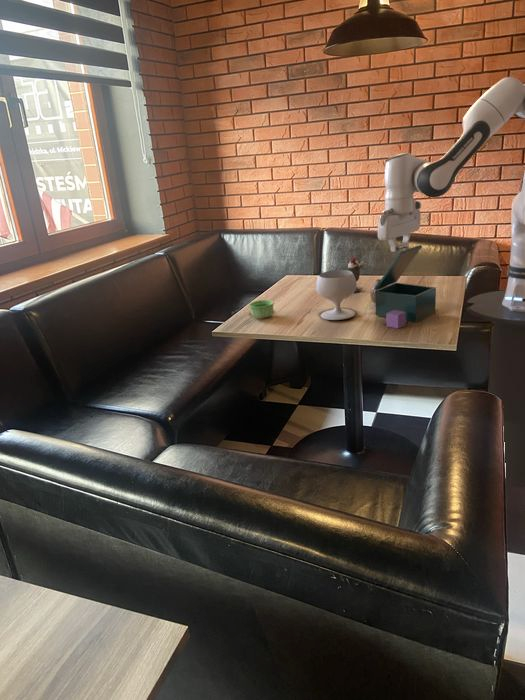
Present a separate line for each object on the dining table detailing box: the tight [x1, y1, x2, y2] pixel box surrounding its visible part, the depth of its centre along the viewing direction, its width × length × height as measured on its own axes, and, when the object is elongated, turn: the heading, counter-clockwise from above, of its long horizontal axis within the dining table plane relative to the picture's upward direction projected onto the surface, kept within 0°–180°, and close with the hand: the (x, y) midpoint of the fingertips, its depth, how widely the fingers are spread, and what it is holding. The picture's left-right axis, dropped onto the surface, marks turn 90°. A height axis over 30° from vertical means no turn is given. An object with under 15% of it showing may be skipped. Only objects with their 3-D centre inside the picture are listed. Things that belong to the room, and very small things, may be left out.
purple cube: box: [385, 310, 407, 329], centre depth 173 cm, size 4×4×4 cm
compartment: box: [375, 282, 437, 323], centre depth 183 cm, size 16×13×9 cm
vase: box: [369, 278, 386, 305], centre depth 197 cm, size 7×7×9 cm
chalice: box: [315, 269, 358, 321], centre depth 186 cm, size 14×14×15 cm
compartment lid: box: [375, 243, 423, 290], centre depth 181 cm, size 17×13×5 cm
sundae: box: [345, 254, 363, 293], centre depth 216 cm, size 7×7×15 cm
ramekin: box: [248, 299, 274, 319], centre depth 197 cm, size 9×9×4 cm
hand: (399, 249), depth 178 cm, fingers closed on compartment lid, 5 cm apart
